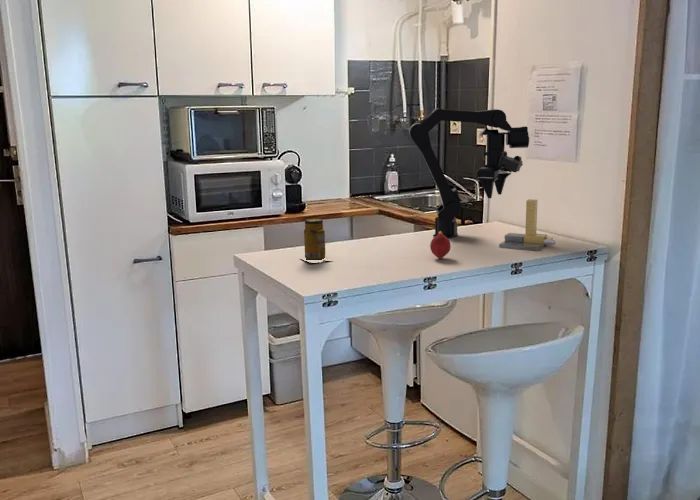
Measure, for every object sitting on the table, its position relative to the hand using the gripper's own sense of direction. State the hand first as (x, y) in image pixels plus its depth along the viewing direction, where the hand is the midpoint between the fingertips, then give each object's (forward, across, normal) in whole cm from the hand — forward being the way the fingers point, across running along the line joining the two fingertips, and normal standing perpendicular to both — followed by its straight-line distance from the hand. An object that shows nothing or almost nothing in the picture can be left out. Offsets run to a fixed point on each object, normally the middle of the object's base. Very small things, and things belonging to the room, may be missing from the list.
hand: (494, 196), depth 218 cm
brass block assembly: (+13, -7, -14) cm, 20 cm away
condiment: (+13, -55, +34) cm, 66 cm away
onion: (+13, -38, +2) cm, 40 cm away
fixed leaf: (+13, -12, -15) cm, 24 cm away
